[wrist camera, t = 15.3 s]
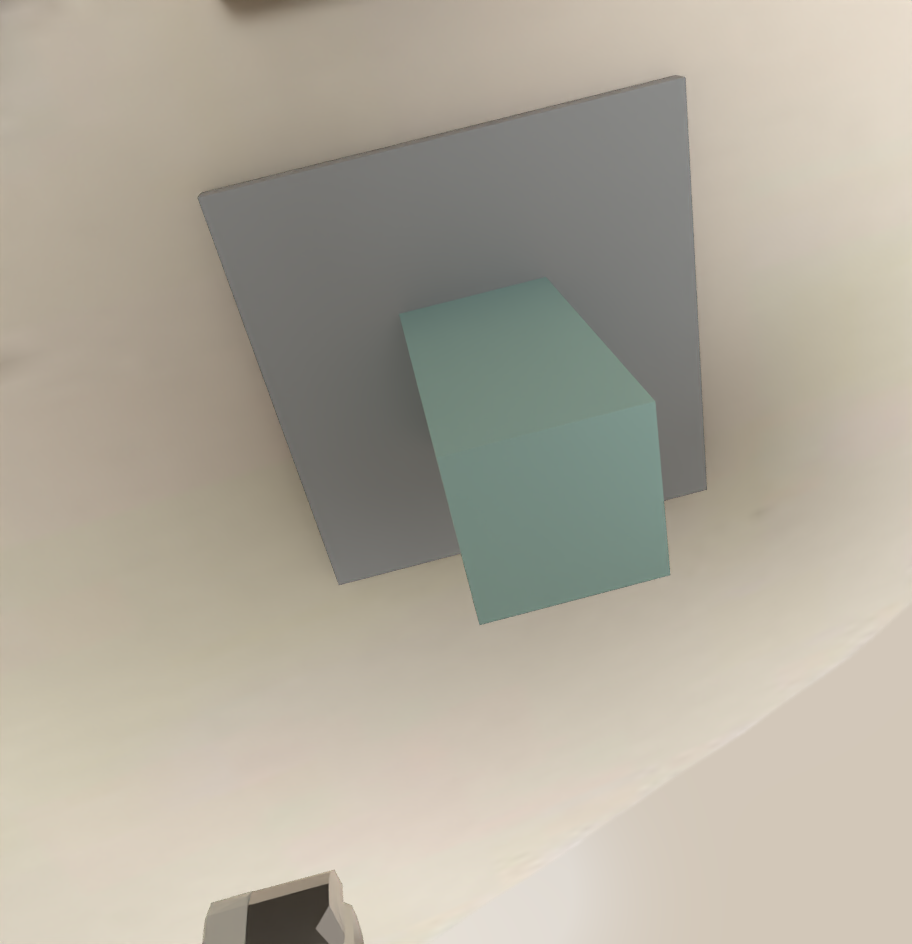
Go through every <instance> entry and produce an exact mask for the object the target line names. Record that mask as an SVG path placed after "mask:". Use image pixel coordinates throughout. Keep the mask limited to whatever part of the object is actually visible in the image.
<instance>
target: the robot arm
mask: <svg viewBox="0 0 912 944" xmlns="http://www.w3.org/2000/svg"><path fill="white" fill-rule="evenodd" d="M202 944H364V942H363V936H362V932H361V928H360V925H359V921H358V918H357V915H356V913H355V911H354V909H353V906H352V905H350V904H347V903H345V902H343V887H342V883H341V881H340V879H339V877H338V875H337V873H336V872H335V870H331V871H327V872H323V873H320V874H316V875H312V876H309V877H305V878H301V879H297V880H294V881H290V882H286V883H283V884H279V885H275V886H271V887H268V888H264V889H260V890H257V891H251V892H247V893H244V894H240V895H237V896H233V897H230V898H227V899H223V900H220V901H216V902H213V903H211V905H210V908H209V910H208V913H207V916H206V918H205V925H204V934H203V943H202Z"/></svg>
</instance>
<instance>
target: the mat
mask: <svg viewBox="0 0 912 944" xmlns="http://www.w3.org/2000/svg"><path fill="white" fill-rule="evenodd" d="M198 200H199V203H200V206H201V208H202V211H203V214H204V217H205V219H206V222H207V225H208V228H209V230H210V233H211V236H212V239H213V241H214V244H215V247H216V249H217V252H218V255H219V258H220V260H221V263H222V266H223V269H224V271H225V274H226V277H227V280H228V282H229V285H230V288H231V291H232V293H233V296H234V299H235V302H236V304H237V307H238V310H239V312H240V315H241V318H242V321H243V323H244V326H245V329H246V332H247V334H248V337H249V340H250V343H251V345H252V348H253V351H254V354H255V356H256V359H257V362H258V365H259V367H260V370H261V373H262V375H263V378H264V381H265V384H266V386H267V389H268V392H269V395H270V397H271V400H272V403H273V406H274V408H275V411H276V414H277V417H278V419H279V422H280V425H281V428H282V430H283V433H284V436H285V438H286V441H287V444H288V447H289V449H290V452H291V455H292V458H293V460H294V463H295V466H296V469H297V471H298V474H299V477H300V480H301V482H302V485H303V488H304V491H305V493H306V496H307V499H308V501H309V504H310V507H311V510H312V512H313V515H314V518H315V521H316V523H317V526H318V529H319V532H320V534H321V537H322V540H323V543H324V545H325V548H326V551H327V554H328V556H329V559H330V562H331V564H332V567H333V570H334V573H335V575H336V578H337V581H338V584H339V585H342V584H345V583H349V582H353V581H357V580H361V579H365V578H369V577H372V576H376V575H380V574H384V573H388V572H392V571H395V570H399V569H403V568H407V567H411V566H415V565H419V564H422V563H426V562H430V561H434V560H438V559H442V558H446V557H449V556H453V555H457V554H461V552H460V548H459V544H458V540H457V536H456V533H455V529H454V525H453V521H452V517H451V513H450V510H449V506H448V502H447V498H446V494H445V491H444V487H443V483H442V479H441V475H440V471H439V468H438V464H437V460H436V456H435V452H434V448H433V445H432V441H431V437H430V433H429V429H428V425H427V421H426V417H425V413H424V409H423V406H422V402H421V398H420V394H419V390H418V386H417V382H416V378H415V374H414V370H413V367H412V363H411V359H410V355H409V351H408V347H407V343H406V339H405V335H404V331H403V328H402V324H401V320H400V316H399V314H401V313H405V312H409V311H413V310H417V309H421V308H425V307H429V306H432V305H436V304H440V303H444V302H448V301H452V300H456V299H460V298H464V297H468V296H472V295H476V294H480V293H484V292H488V291H492V290H496V289H500V288H504V287H508V286H512V285H516V284H520V283H524V282H528V281H531V280H535V279H539V278H543V277H546V278H547V279H548V280H549V281H550V282H551V283H552V284H553V286H554V287H555V288H556V289H557V290H558V291H559V292H560V294H561V295H562V296H563V297H564V298H565V299H566V300H567V302H568V303H569V304H570V305H571V306H572V307H573V308H574V309H575V311H576V312H577V313H578V314H579V315H580V316H581V317H582V319H583V320H584V321H585V322H586V323H587V324H588V325H589V326H590V328H591V329H592V330H593V331H594V332H595V333H596V334H597V336H598V337H599V338H600V339H601V340H602V341H603V342H604V344H605V345H606V346H607V347H608V348H609V349H610V350H611V351H612V353H613V354H614V355H615V356H616V357H617V358H618V359H619V361H620V362H621V363H622V364H623V365H624V366H625V367H626V369H627V370H628V371H629V372H630V373H631V374H632V375H633V376H634V378H635V379H636V380H637V381H638V382H639V383H640V384H641V386H642V387H643V388H644V389H645V390H646V391H647V392H648V394H649V395H650V396H651V397H652V398H653V399H654V400H655V403H656V415H657V426H658V438H659V450H660V461H661V473H662V484H663V496H664V501H665V500H669V499H673V498H676V497H680V496H684V495H688V494H692V493H696V492H699V491H703V490H707V483H706V464H705V445H704V426H703V406H702V387H701V368H700V349H699V330H698V310H697V291H696V272H695V253H694V233H693V214H692V195H691V176H690V157H689V137H688V118H687V99H686V80H685V77H683V76H676V75H675V76H671V77H667V78H663V79H659V80H655V81H651V82H647V83H643V84H639V85H635V86H631V87H627V88H623V89H619V90H615V91H611V92H607V93H603V94H599V95H595V96H591V97H587V98H583V99H579V100H575V101H571V102H566V103H562V104H558V105H554V106H550V107H546V108H542V109H538V110H534V111H530V112H526V113H522V114H518V115H514V116H510V117H506V118H502V119H498V120H494V121H490V122H486V123H482V124H478V125H474V126H470V127H466V128H461V129H457V130H453V131H449V132H445V133H441V134H437V135H433V136H429V137H425V138H421V139H417V140H413V141H409V142H405V143H401V144H397V145H393V146H389V147H385V148H381V149H377V150H373V151H369V152H365V153H361V154H357V155H352V156H348V157H344V158H340V159H336V160H332V161H328V162H324V163H320V164H316V165H312V166H308V167H304V168H300V169H296V170H292V171H288V172H284V173H280V174H276V175H272V176H268V177H264V178H260V179H256V180H252V181H248V182H243V183H239V184H235V185H231V186H227V187H223V188H219V189H215V190H211V191H207V192H203V193H201V194H200V195H199V196H198Z"/></svg>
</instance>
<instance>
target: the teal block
mask: <svg viewBox="0 0 912 944" xmlns="http://www.w3.org/2000/svg"><path fill="white" fill-rule="evenodd" d="M399 316H400V320H401V324H402V328H403V331H404V335H405V339H406V343H407V347H408V351H409V355H410V359H411V363H412V367H413V370H414V374H415V378H416V382H417V386H418V390H419V394H420V398H421V402H422V406H423V409H424V413H425V417H426V421H427V425H428V429H429V433H430V437H431V441H432V445H433V448H434V452H435V456H436V460H437V464H438V468H439V471H440V475H441V479H442V483H443V487H444V491H445V494H446V498H447V502H448V506H449V510H450V513H451V517H452V521H453V525H454V529H455V533H456V536H457V540H458V544H459V548H460V552H461V556H462V559H463V563H464V567H465V571H466V575H467V579H468V582H469V586H470V590H471V594H472V598H473V602H474V605H475V609H476V613H477V617H478V621H479V624H480V625H482V624H486V623H489V622H493V621H497V620H501V619H505V618H508V617H512V616H516V615H520V614H524V613H528V612H531V611H535V610H539V609H543V608H547V607H550V606H554V605H558V604H562V603H566V602H569V601H573V600H577V599H581V598H585V597H589V596H592V595H596V594H600V593H604V592H608V591H611V590H615V589H619V588H623V587H627V586H631V585H634V584H638V583H642V582H646V581H650V580H653V579H657V578H661V577H665V576H669V575H670V566H669V554H668V543H667V531H666V519H665V508H664V496H663V484H662V473H661V461H660V450H659V438H658V426H657V415H656V403H655V400H654V399H653V398H652V397H651V396H650V395H649V394H648V392H647V391H646V390H645V389H644V388H643V387H642V386H641V384H640V383H639V382H638V381H637V380H636V379H635V378H634V376H633V375H632V374H631V373H630V372H629V371H628V370H627V369H626V367H625V366H624V365H623V364H622V363H621V362H620V361H619V359H618V358H617V357H616V356H615V355H614V354H613V353H612V351H611V350H610V349H609V348H608V347H607V346H606V345H605V344H604V342H603V341H602V340H601V339H600V338H599V337H598V336H597V334H596V333H595V332H594V331H593V330H592V329H591V328H590V326H589V325H588V324H587V323H586V322H585V321H584V320H583V319H582V317H581V316H580V315H579V314H578V313H577V312H576V311H575V309H574V308H573V307H572V306H571V305H570V304H569V303H568V302H567V300H566V299H565V298H564V297H563V296H562V295H561V294H560V292H559V291H558V290H557V289H556V288H555V287H554V286H553V284H552V283H551V282H550V281H549V280H548V279H547V278H546V277H543V278H539V279H535V280H531V281H528V282H524V283H520V284H516V285H512V286H508V287H504V288H500V289H496V290H492V291H488V292H484V293H480V294H476V295H472V296H468V297H464V298H460V299H456V300H452V301H448V302H444V303H440V304H436V305H432V306H429V307H425V308H421V309H417V310H413V311H409V312H405V313H401V314H399Z"/></svg>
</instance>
